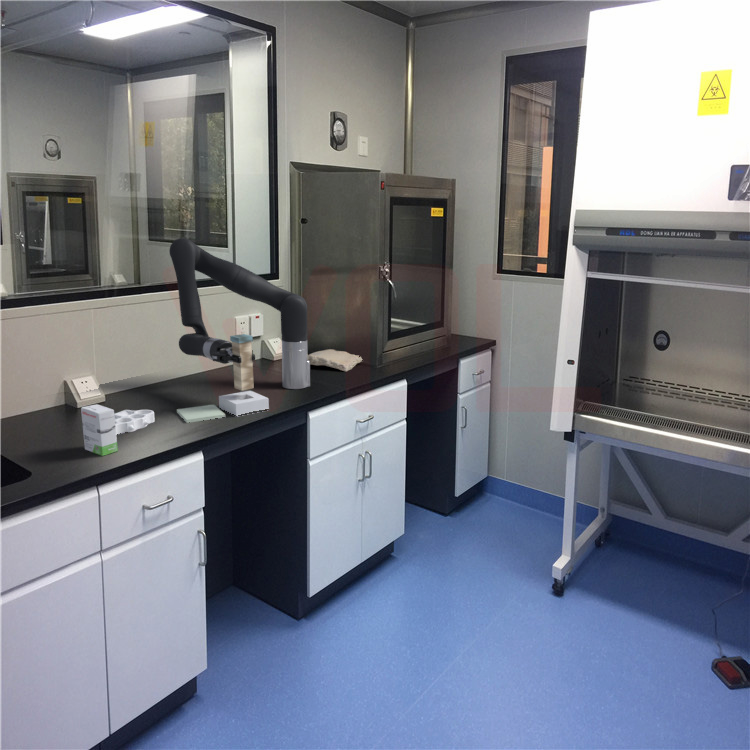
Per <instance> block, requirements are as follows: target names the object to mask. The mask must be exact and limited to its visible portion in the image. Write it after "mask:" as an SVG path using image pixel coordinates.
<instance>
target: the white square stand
mask: <svg viewBox="0 0 750 750" xmlns="http://www.w3.org/2000/svg"><path fill="white" fill-rule="evenodd" d="M269 403H270V400H269V398H268V397H267V396H264V395H262V394H260V393H258V392H255V391H253V390H244V391H240V392H234V393H229V394H223V395H218V408H219V409H220V408H221V409H220V410H221V411H222V410H223V411H224V410H225V412H226V411H227V412H226V413H228V412H229V413H228V414H230V413H231V414H230V415H232V414H234V415H236V416H237V417H239V416H238V415H241V414H245V413H249V412H253V411H259V410H265V409H269V410H270V405H269ZM234 415H233V416H234ZM236 416H235V417H236Z"/></svg>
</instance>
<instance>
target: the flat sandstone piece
mask: <svg viewBox="0 0 750 750" xmlns="http://www.w3.org/2000/svg"><path fill="white" fill-rule="evenodd" d="M359 356H360V355H358V354H357V355H355V354H351V353H349V352H347V351H343V350H342V351H341V350H336V349H331V348H329V349H324V350H319V351H315V352H312V353H309V354H308V360H309V361H310V366H311V365H312V366H326V367H330V368H334V369H337V370H340V371H343V372H348V371H350V370H352V369H353V368H354V367H356V365H358V364H360V363H361V362H363V361H362V360H363V358H362V356H360V357H359Z"/></svg>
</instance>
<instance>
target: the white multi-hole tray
mask: <svg viewBox="0 0 750 750" xmlns="http://www.w3.org/2000/svg"><path fill="white" fill-rule="evenodd" d="M114 417H115V426H116V436H117V434H118V435H121V434H125V432H128V433H132V432H135V431H137V430H139V429H140V430H141V429H144V428H146V427H148V425H149V424H152V423H155V421H156V420H155V412H154V410H151V409H139V410H132V409H131V410H130V409H124V410H121V411H118V412H114ZM120 433H121V434H120Z"/></svg>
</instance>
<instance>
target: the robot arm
mask: <svg viewBox="0 0 750 750" xmlns="http://www.w3.org/2000/svg"><path fill="white" fill-rule="evenodd" d="M168 251H169V256H170V259H171V262H172V266H173V268H174V272H175V278H176V282H177V291H178V299H179V300H178V301H179V309H180V318H181V324H182V326H184V327H187V328H192V329H193V331H194V333H193V332H192V333H186V334H183V335H181V337H180V338H179V340H178V347H179V349H180V351H181V352H182V353H183V354H185V355H187V356H195V357H197V356H198V357H199V356H200V357H204V358H208V359H209V360H211V361H212V362H215V363H216V362H218V363H220V364H224V365H226V364H229V363H233V362H236V363H241V362H242V361H241V356H237V355H233V353H232V341H228V340H225V339H221V338H216V337H211V336H209V334H208V331H207V329H206V326H205V323H204V320H203V313H202V306H201V305H202V304H201V299H200V296H199V295H200V293H199V289H198V285H197V280H196V272H198V273H201V274H203V275H205V276H207V277H209V278H210V279H211V280H213V281H214V282H215V283H218V284H219V285H220V286H222V287H224V288H226V289H227V290H228V291H230V292H233V293H235V294H237V295H238V296H241V297H244V298H247V299H250V300H253V301H255V302H260V303H263V304H265V305H268V306H270V307H272V308H273V309H275V310H277V311H278V312H280V331H281V332H280V334H281V364H282V365H281V367H282V368H281V369H282V370H281V372H282V374H281V375H282V377H281V378H282V379H281V381H282V387H283V388H285V389H290V390H300V389H304V388H305V389H306V388H308V387H311V365H310V361H309V360H308V355H309V354H308V348H309V347H308V335H309V334H308V333H309V332H308V303H307V300H305V298H304V297H303V296H301V295H299V294H297V293H294V292H291V291H289V290H286V289H283V288H282V287H278V286H277V285H275V284H273V283H271V282H270V281H268V280H267V279H265V278H263V277H262V276H260V275H258V274H256V273H254V271H253V272H252V271H251V270H249V269H247V268H245V267H242V266H241V265H239V264H237V263H234V262H233V261H232V262H231V261H230V260H227V259H223V258H220V257H217V256H215V255H213V254H211V253H210V252H208V251H206V250H205V249H203V248H201V247H200V246H199V245H197V244H196V243H195V242H193V241H192V240H190V239H188V238H185V237H181V238H180V237H179V238H177V239H175V240H173V241H172V243H171V244H170V247H169V250H168ZM255 361H256V354H254V349H252V362H255Z"/></svg>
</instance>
